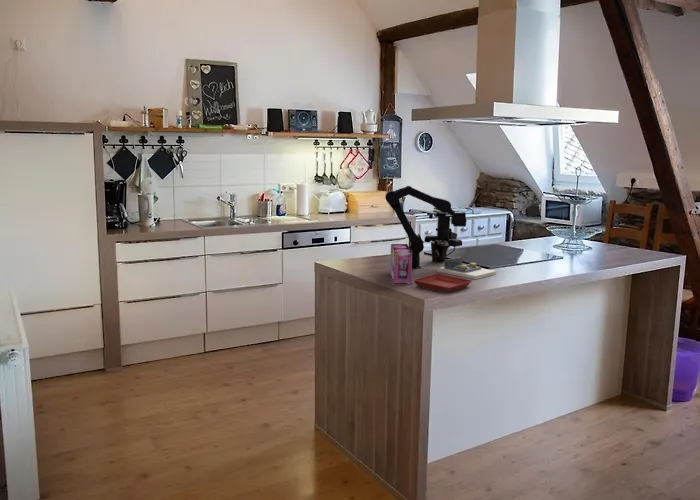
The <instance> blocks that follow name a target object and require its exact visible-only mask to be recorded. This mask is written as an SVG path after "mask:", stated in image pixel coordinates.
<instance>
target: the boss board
mask: <svg viewBox="0 0 700 500" xmlns="http://www.w3.org/2000/svg"><path fill="white" fill-rule="evenodd" d="M468 265H469V266H471V267H472V268H474V266H477V263H476V262H470V263H468ZM460 268H462V269H463V270H465V268H467V265H460ZM436 272H438V273H442V274H446V275H447V274H448V275H451V276H458V277H461V278H466V279H467V278H468V279H471V280H477V279H478V280H479V279H482V278H487V277H490V276H495V275H497V270H493V269H489V268H488V269H486V268H483V267H481V269H479V270H475V271H470V272H466V273H465V272H460V271H455V270H450V269H445V268H444V266H440V267H436Z"/></svg>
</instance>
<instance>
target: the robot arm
mask: <svg viewBox="0 0 700 500" xmlns="http://www.w3.org/2000/svg"><path fill="white" fill-rule="evenodd" d="M406 196H411V197H413V198H415V199H417V200H420V201H422V202H424V203H427V204H429V205H431V206H432V207H434V208H436V209H437V210H438V211H436V212H435V213H434V214H433V217H434V218H437V226H436V227H437V228H435V231H436V234H437V235H433V234H432V235H426V236H425V237H424V239H422V236H421V234H420V233H418V234H417V233H416V231H415V230H414V229H413V227H412V225H411V223H410V222H409V219H408V217H407V215H406V214H405V212H404V210H403V208H402V205H401V203H400V199H403V198H405V197H406ZM384 198H385V200H386V202H387V203H388V205H389V206H390V208H392V210H393V211H394V212H395V214H396V216H397V218H398V220H399V222H400V225H401V226H402V228H403V230H404V232H405V233H406V236H407V237H408V240H409V244H410V245H408V246H409V248H410V250H411V251H412V270H415V269H420V268H422V266H421V264H420V263H421V261H420V260H421V259H420V258H421V255H420V253H422V252H423V250H424V249H425V245H424V244H425V243H431V241H435V243H434V244H433V245H435V247H436V249H437V251H438V253H439V255H440V258H441V259H444V256H445V254H446V255H447V251H448V249H449V248H450V247H453V248H454V247H455V248H457V247H462V246H463V241H462V239H459V238H458V234H457V233H456V232H453V230H452V228H451V226H450V224H451V225H453V226H452V227H467V214H466V212H463V211H462V212H461V211H460V212H458V211H457V212H456V211H454V210H453V209H452V204H451V202H450V201H449V200H448V199H444V198H441V197H438V196H437V197H436V196H432V195H430V194H429V193H426V192H423V191H421V190H419V189H416V188H414V187H413V186H411V185H406V186H404V187H402V188H398V189H396V190H388V191H387V192H386V193H385V197H384ZM439 211H440V212H439ZM446 213H447V214H446ZM457 238H458V239H457Z"/></svg>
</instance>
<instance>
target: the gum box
mask: <svg viewBox="0 0 700 500" xmlns="http://www.w3.org/2000/svg"><path fill="white" fill-rule="evenodd" d="M409 246H410V245H408V243H403V244H402V243H391V244H390V265H389V266H390V270H389V271H390V276H392V277H391V279H393V280H392V283H393V282H394V283H411V284H412V281H413V279H412V277H413V276H412V275H413V274H412V273H413V269H412V251H411V250H410V248H409ZM394 283H393V284H394Z"/></svg>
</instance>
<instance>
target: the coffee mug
mask: <svg viewBox="0 0 700 500" xmlns="http://www.w3.org/2000/svg"><path fill="white" fill-rule="evenodd" d="M434 243H435V241H430V249H431V250H430V251H431V262H433V263H438V264H439V263H445V260H446V258H447V256H449V255H451V254H452V253H454V252H455V250H456V247H453V250H452V251H451V252H449V253H448V254H447V253H446V254H445V256H444V259H441V258H440V255H439V253H438V251H437V249H436V247H435V245H433V244H434Z"/></svg>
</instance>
